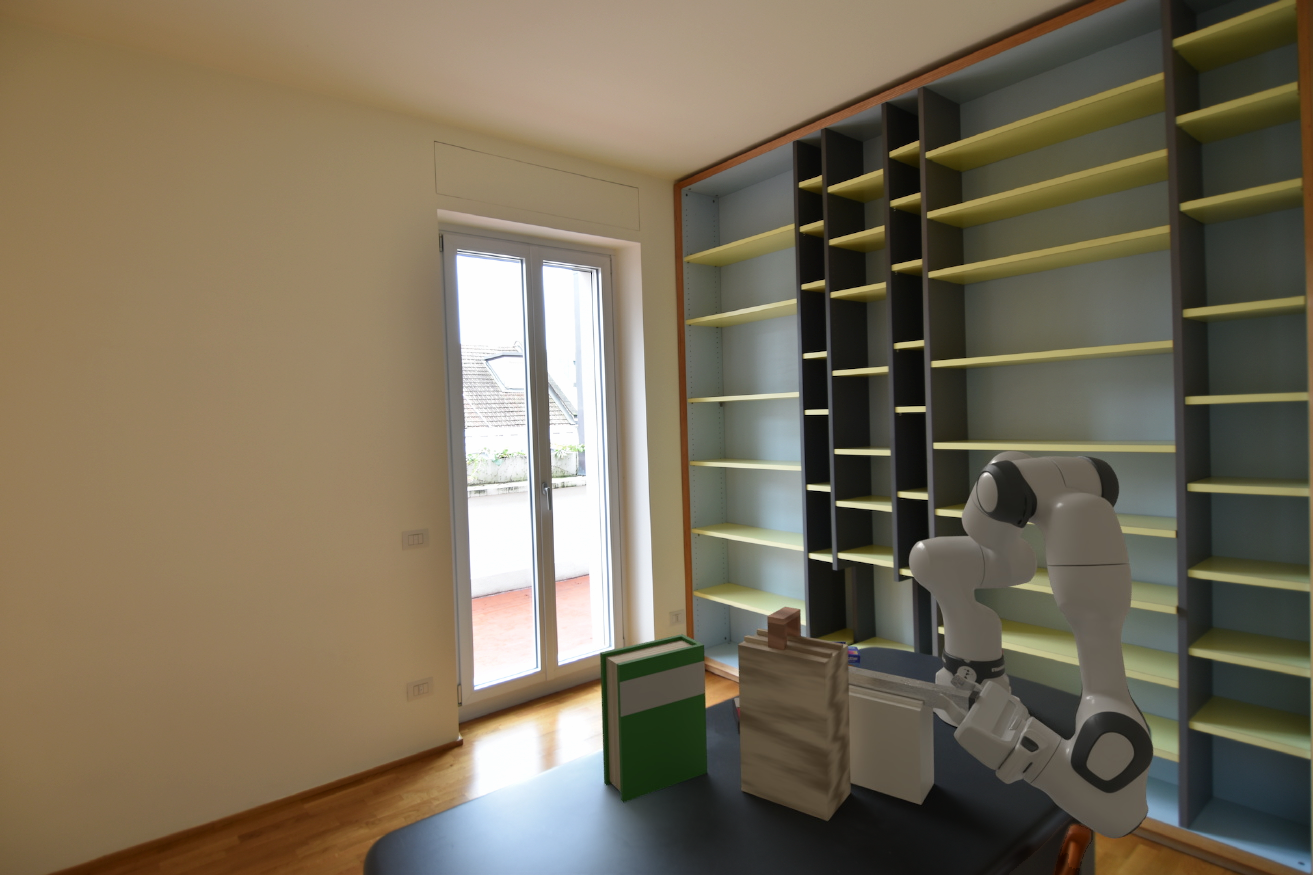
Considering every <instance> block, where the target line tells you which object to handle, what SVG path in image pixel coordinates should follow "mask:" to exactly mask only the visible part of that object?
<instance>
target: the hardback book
mask: <svg viewBox="0 0 1313 875" xmlns="http://www.w3.org/2000/svg"><path fill="white" fill-rule="evenodd" d="M599 655H600V656H599V657H600V658H599V660H600V684H601V685H600V687H601V688H600V689H601V690H600V691H601V721H602V722H601V725H602V726H601V728H602V753H603V754H602V755H603V757H602V758H603V762H602V763H603V784H604V785H605V784H606V785H605V786H608V785H613V786H614V787H615V788H616V789H618V791H619V792H620V801H621V802H622V803H626V802H629V801H633V800H636V799H637V798H641V797H643V796H645V795H646V796H647V795H648V794H652V793H654V792H658V791H659V790H663V789H666V788H669V787H671V786H674V785H676V784H679V783H682V782H686V781H688V780H691V779H694V778H697V777H699V776H702V775H705V774H707V773H708V747H707V746H708V745H707V743H708V742H707V706H706V703H707V700H706V699H707V698H706V671H705V670H706V668H705V666H706V665H705V644H704V643H701V642H700V641H697V640H695V639H693V638H691V637H690V636H688V635H685V634H683V633H681V634H677V635H673V636H667V637H663V638H659V639H655V640H651V641H646V642H641V643H637V644H632V645H627V646H623V647H620V648H619V647H618V648H615V649H611V650H606V651H601V652H599Z"/></svg>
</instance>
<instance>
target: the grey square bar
mask: <svg viewBox="0 0 1313 875" xmlns="http://www.w3.org/2000/svg"><path fill="white" fill-rule="evenodd" d="M848 669H849V685H852V686H857V687H861V688H865V689H870V690H874V691H879V692H883V693H888V694H892V695H897V696H901V697H906V698H910V699H915V700H919V701H923V705H924V706H928V707H933V708H937V709H941V710H944V709H943V708H942V707H940V706H939V705H938V704H937V703H936V700H937V698H938V697H939V695H940V694H941V693H942V692H944V693H946V694H947V695H948V696H950V697H951V698H953V699H952V701H953V702H954V703H955V704H956V705H957V706H958V707H959V708H960V709H961V708H962V709H964V710H965V711H966V712H969V711H970V709H971V708H972V706H973V704H974V703H975V702H976V701H977V699H978V697H979V692H978V691H969V690H964V689H959V688H954V687H949V686H945V685H940V684H935V683H934V682H928V681H924V680H920V679H915V678H911V677H910V678H909V677H904V676H900V675H895V674H890V673H887V672H886V673H885V672H882V671H881V672H880V671H877V670H876V671H875V670H870V669H866V668H861V667H860V668H857V667H852V666H848Z"/></svg>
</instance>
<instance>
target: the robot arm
mask: <svg viewBox="0 0 1313 875" xmlns="http://www.w3.org/2000/svg"><path fill="white" fill-rule="evenodd" d="M1119 494H1120V482H1119V478H1118V477H1117V474H1116V472H1115V470H1114V469H1113V467H1112V466H1111V465H1110V464H1109V462H1107V461H1105V460H1103V459H1101V458H1097V457H1092V456H1085V455H1078V456H1063V455H1062V456H1059V455H1058V456H1055V455H1051V456H1039V457H1033V456H1031V455H1030V454H1028V453H1025V452H1021V451H1018V450H1015V451H1014V450H1008V451H1007V450H1006V451H1003V452H1000V453H998V454H997V455H995V456H994V457H993V458H992V459H991V460H990V461H989V462H988V464H986V466H984V467H983V468H982V469H981V471H980V473H979V475H978V477H977V480H976V482H975V484H974V486H973V488H972V490H971V493H970V494H969V497H968V500H967V502H966V504H965V506H964V509H963V511H962V513H961V523H962V527H963V529H964V531H965V532H966V534H967V535H959V536H958V535H956V536H955V535H953V536H951V535H950V536H936V537H932V538H927V539H923V540H919V541H917V542H916V543H915V544H914V545H913V547H912V548H911V550H910V553H909V556H908V557H909V558H908V564H909V570H910V572H911V575H912V577H913V578H914V579H915V581H916V582H918V583H919V585H920V586H922V587H923V588H925V589H926V590H927V591H928V592H930V594H931V595H932V596H933V597H934V598H935V600H936V602H937V604H938V606H939V608H940V610H941V615H942V619H943V631H944V647H943V648H942V654H941V659H942V666H943V667H942V668H940V670H938V671H937V672H936V673H935V684H940V685H945V686H949V687H954V688H959V689H964V690H969V691H978V692H979V697H978V699H977V701H976V702H975V703H974V704H973V706H972V708H971V709H970V711H969V712H966V711H965V710H964V709H962V708H961V709H960V708H959V707H958V706H957V705H956V704H955V703H954V702H953V701H952V699H953V698H951V697H950V696H948V695H947V694H946V693H944V692H942V693H941V694H940V695H939V697H938V698H937V700H936V703H937V704H938V705H939V706H940V707H942V708H943V709H944V710H941V709H937V708H933V713H935V714H936V715H937V716H938V717H939V718H940V719H941V720H942V721H943V722H945V723H947V724H949V725H951V726H954V727H957V728H956V730H955V732H954V733H953V736H954V739H955V740H956V742H958V744H959V745H960V746H961V747H962V748H963V749H964V750H965V751H966V752H968V753H969V754H970V755H971V756H973V757H974V759H976V760H977V761H979V762H980V763H981V764H983V765H984V766H986V767H988V768H989V769H991V770H994V771H995V775H996V777H997V778H998V779H999V780H1000V781H1001V782H1003V783H1004V784H1007V785H1009V784H1010V785H1011V784H1012V783H1015V782H1017V781H1021V780H1024V781H1025V782H1027V783H1028V784H1029V785H1031V786H1032V787H1034V788H1036V789H1039V790H1040V791H1042V792H1044V793H1045V794H1046V795H1048V797H1050V799H1051V800H1052V801H1053V803H1055V804H1056V805H1057V806H1058V807H1059V808H1060V809H1062V810H1063V811H1065V812H1066V813H1067V814H1069V816H1071V817H1073V818H1074V819H1075V820H1077V821H1078V822H1080V823H1082V824H1083V825H1084V826H1086V827H1088V828H1089V829H1091V830H1092V831H1093V832H1096V833H1097V834H1100V835H1101V836H1103V837H1105V838H1109V839H1112V840H1113V839H1120V838H1124V837H1127V836H1129V835H1131V834H1132V833H1134V831H1136V830H1137V829H1138V828H1139V827H1140V826H1141V825H1142V824H1143V821H1145V819H1146V818H1147V816H1148V813H1149V805H1148V802H1147V801H1148V800H1147V785H1148V784H1147V781H1148V776H1149V772H1150V767H1151V765H1152V761H1153V758H1154V743H1153V740H1152V738H1151V735H1150V732H1149V726H1148V722H1147V720H1146V718H1145V716H1144V714H1143V712H1142V710H1141V709H1140V708H1139V706H1138V704H1137V703H1136V702H1135V699H1133V697H1132V696H1131V694H1130V693H1131V691H1130V690H1129V687H1128V681H1127V675H1126V668H1125V662H1124V654H1123V649H1122V648H1123V647H1122V631H1123V627H1124V623H1125V621H1126V618H1127V616H1128V614H1129V613H1130V610H1131V605H1132V603H1131V602H1132V592H1133V591H1132V589H1133V587H1132V584H1133V583H1132V581H1133V580H1132V570H1131V564H1130V558H1129V553H1128V548H1127V544H1126V540H1125V537H1124V534H1123V529H1122V527H1121V525H1120V521H1119V518H1118V516H1117V514H1116V511H1115V508H1114V507H1115V506H1116V504H1117V501H1118V499H1119ZM1028 523H1029V524H1033V525H1035V527H1037V528H1038V529H1039V530H1040V531H1041V533H1042V536H1043V540H1044V551H1045V560H1046V562H1045V563H1046V569H1047V575H1048V580H1049V584H1050V588H1051V591H1052V594H1053V597H1054V600H1055V602H1056V605H1057V608H1058V610H1059V611H1060V613H1061V614H1062V616H1063V617H1064V618H1065V621H1067V624H1068V626H1069V627H1070V628H1071V631H1072V633H1073V636H1074V641H1075V644H1076V652H1077V658H1078V665H1079V671H1080V672H1079V673H1080V680H1081V693H1080V696H1079V699H1078V701H1077V704H1076V706H1075V709H1074V715H1073V722H1074V728H1075V732H1074V735H1073V736H1072V737H1071V738H1070V739H1064V738H1063V737H1062V736H1061V735H1059V734H1058V733H1056V732H1055V731H1054V730H1052V729H1051V728H1050V727H1048V726H1047V725H1045V723H1042V722H1041V721H1039V720H1038V719H1036V718H1035V717H1034V716H1031V714H1029V710H1028V708H1027V706H1025V705H1024V703H1022V702H1021V699H1020V698H1019V697H1018V696H1016V695H1013V694H1012V686H1010V677H1009V676H1008V675H1007V673H1005V672H1006V660H1005V656H1004V650H1003V648H1002V647H1003V639H1002V638H1003V637H1002V636H1003V635H1002V634H1003V633H1002V632H1003V630H1002V628H1003V626H1002V625H1003V624H1002V621H1001V619H1000V617H999V616H998V615H999V614H997V612H996V611H994V610H993V609H992V608H990V607H988V606H986V605H984V604H982V603H980V602H978V601H977V600H976V597H975V590H976V589H1001V588H1002V589H1003V588H1004V589H1005V588H1009V587H1010V588H1012V587H1016V586H1020V585H1023V584H1024V585H1025V584H1027V583H1029V582H1031V581H1032V580H1033V578H1034V576H1035V575H1036V573H1037V571H1038V570H1037V569H1038V558H1037V555H1036V552H1035V550H1034V548H1033V547H1032V545H1031V544H1030V543H1029V542H1028V541H1027V540H1026V539H1024V538H1022V535H1023V532H1024V530H1025V528H1026V526H1027V525H1028Z"/></svg>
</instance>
